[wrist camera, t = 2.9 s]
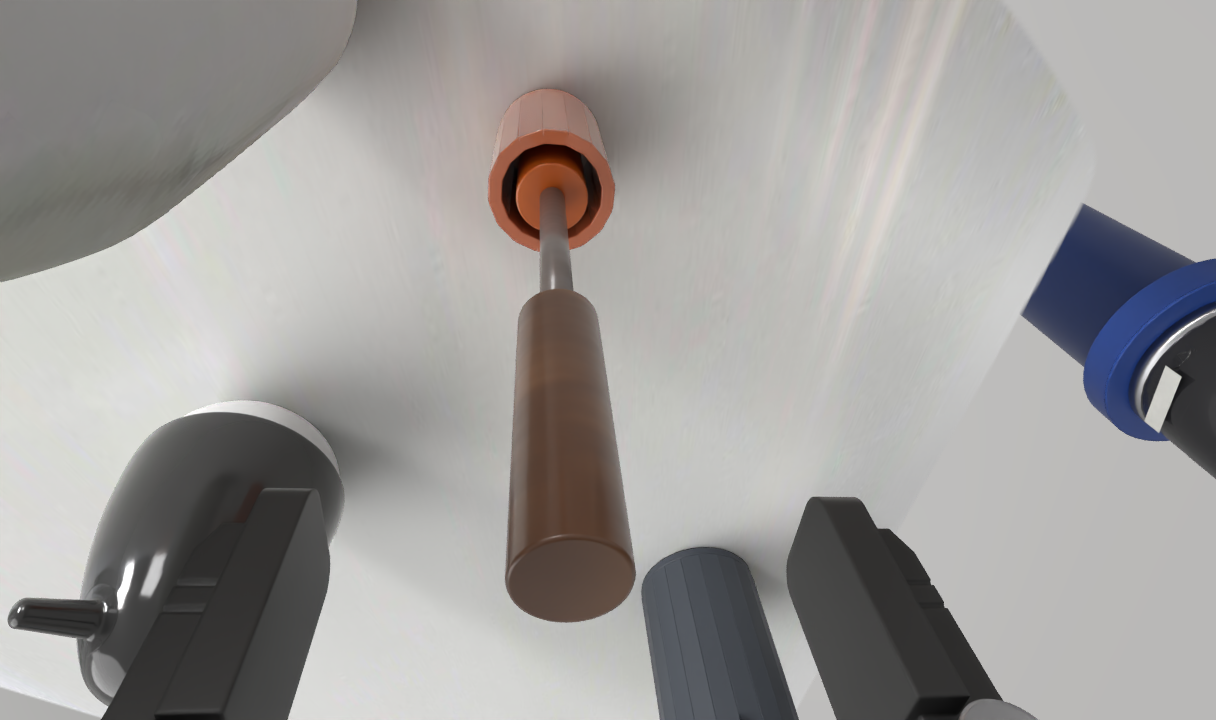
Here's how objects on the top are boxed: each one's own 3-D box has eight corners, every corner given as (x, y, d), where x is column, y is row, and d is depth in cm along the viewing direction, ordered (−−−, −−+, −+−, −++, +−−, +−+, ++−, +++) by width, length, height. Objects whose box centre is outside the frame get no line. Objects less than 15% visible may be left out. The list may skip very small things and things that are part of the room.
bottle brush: (580, 117, 30) (667, 522, 10) (576, 175, 31) (643, 635, 11) (520, 112, 30) (485, 521, 10) (519, 171, 31) (484, 637, 11)
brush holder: (604, 93, 30) (621, 135, 24) (595, 195, 32) (607, 256, 27) (498, 83, 29) (488, 125, 24) (496, 188, 32) (487, 249, 26)
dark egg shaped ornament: (246, 332, 35) (77, 572, 22) (397, 453, 40) (331, 705, 27) (122, 434, 38) (-93, 700, 25) (278, 535, 42) (167, 800, 30)
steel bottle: (761, 547, 47) (847, 788, 34) (738, 620, 51) (806, 860, 38) (649, 546, 46) (692, 795, 33) (634, 621, 50) (668, 868, 37)
